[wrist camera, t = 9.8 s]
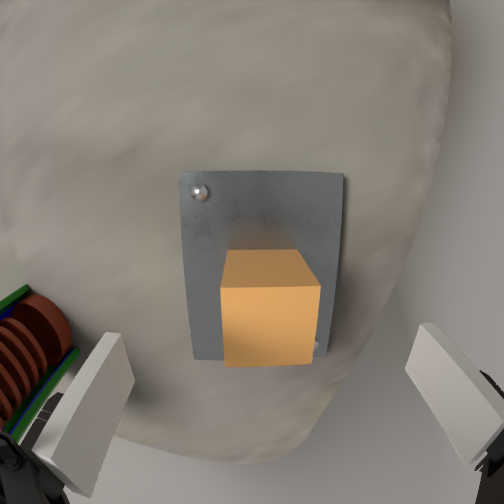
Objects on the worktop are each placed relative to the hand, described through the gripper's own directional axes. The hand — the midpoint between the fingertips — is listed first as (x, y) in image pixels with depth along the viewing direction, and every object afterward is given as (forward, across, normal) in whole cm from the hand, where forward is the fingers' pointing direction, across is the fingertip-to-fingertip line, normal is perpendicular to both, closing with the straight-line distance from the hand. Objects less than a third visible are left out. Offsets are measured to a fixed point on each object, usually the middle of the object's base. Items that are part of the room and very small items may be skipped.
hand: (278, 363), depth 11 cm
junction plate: (+12, 0, -1) cm, 12 cm away
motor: (+12, -24, -8) cm, 28 cm away
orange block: (+11, 0, -1) cm, 11 cm away
